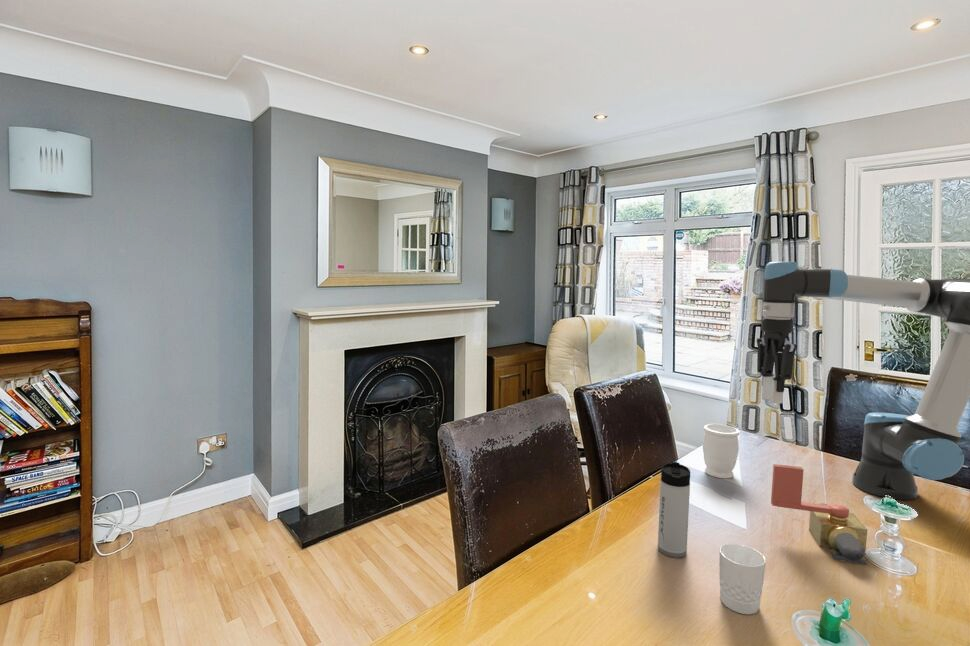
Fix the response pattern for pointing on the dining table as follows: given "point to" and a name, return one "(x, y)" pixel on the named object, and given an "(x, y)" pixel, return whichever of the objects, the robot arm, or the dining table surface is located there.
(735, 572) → the white cup
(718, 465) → the jar
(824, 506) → the lever
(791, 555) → the dining table surface
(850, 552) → the valve body
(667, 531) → the travel mug
